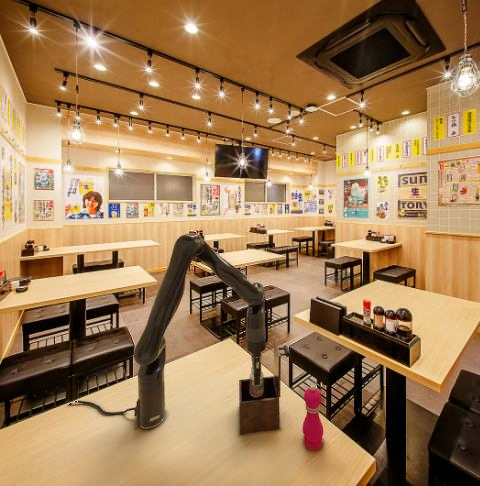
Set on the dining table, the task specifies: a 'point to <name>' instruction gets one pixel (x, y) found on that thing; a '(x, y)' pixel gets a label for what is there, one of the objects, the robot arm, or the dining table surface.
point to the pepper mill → (312, 419)
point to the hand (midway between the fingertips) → (256, 378)
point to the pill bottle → (256, 389)
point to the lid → (278, 364)
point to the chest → (258, 407)
